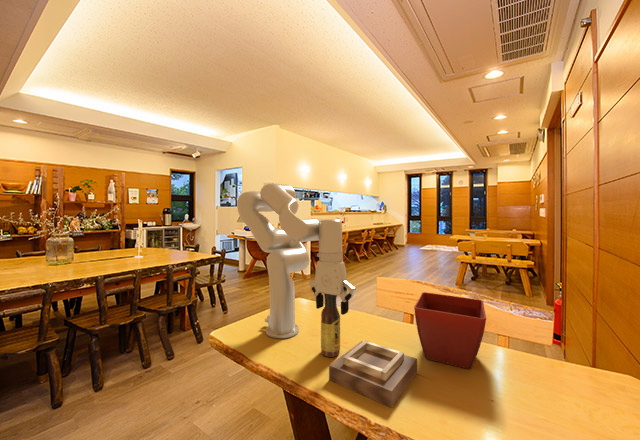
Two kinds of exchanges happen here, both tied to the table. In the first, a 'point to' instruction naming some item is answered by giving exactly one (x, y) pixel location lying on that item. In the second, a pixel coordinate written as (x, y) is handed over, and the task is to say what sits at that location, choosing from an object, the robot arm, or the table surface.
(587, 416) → the table surface
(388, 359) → the condiment stand
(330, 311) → the sauce bottle
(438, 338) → the plant pot
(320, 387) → the table surface
